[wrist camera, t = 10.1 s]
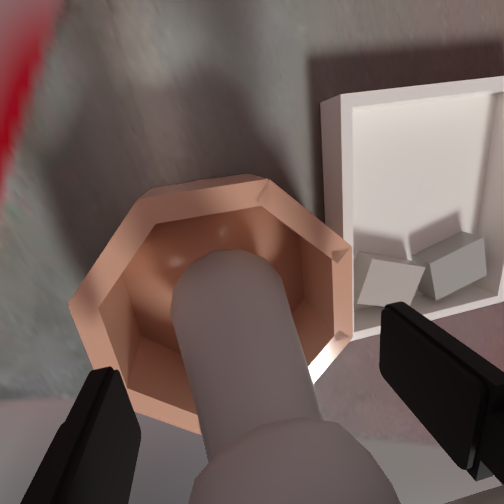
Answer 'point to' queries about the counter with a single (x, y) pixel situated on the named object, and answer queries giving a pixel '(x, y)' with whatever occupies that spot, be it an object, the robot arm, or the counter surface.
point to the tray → (417, 180)
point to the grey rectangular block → (451, 264)
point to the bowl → (177, 261)
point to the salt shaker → (261, 394)
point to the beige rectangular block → (385, 279)
